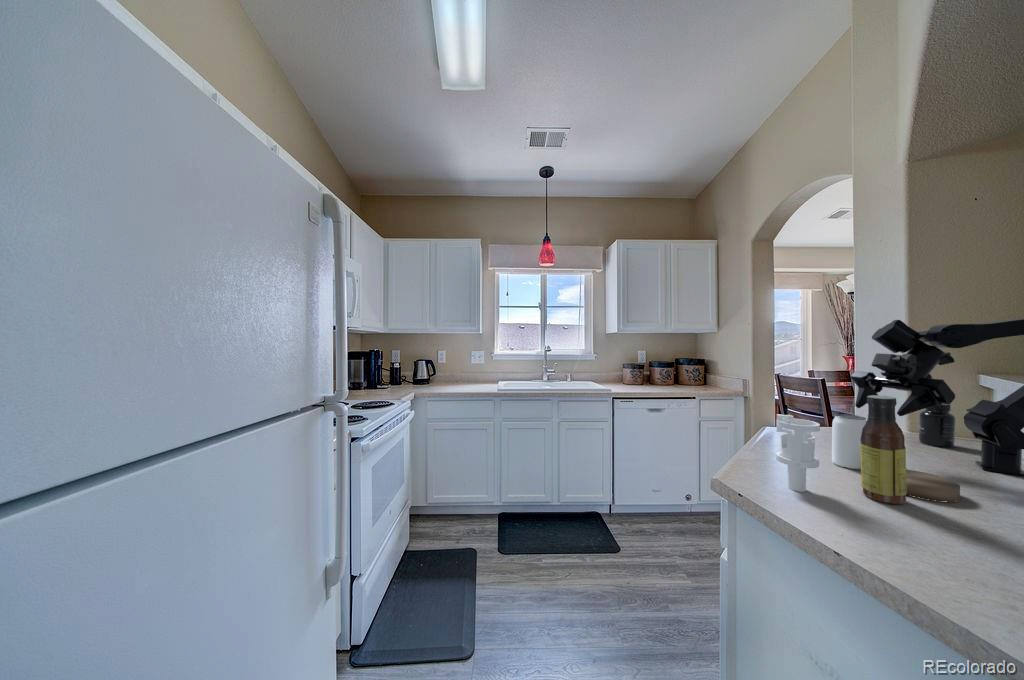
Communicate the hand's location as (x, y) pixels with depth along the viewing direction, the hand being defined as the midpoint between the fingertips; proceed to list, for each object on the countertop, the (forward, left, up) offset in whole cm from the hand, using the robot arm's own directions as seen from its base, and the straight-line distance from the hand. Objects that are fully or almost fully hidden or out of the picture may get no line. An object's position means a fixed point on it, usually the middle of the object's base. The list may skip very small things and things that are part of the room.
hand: (876, 410), depth 91 cm
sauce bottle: (+26, -1, -13) cm, 29 cm away
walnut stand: (+16, +5, -13) cm, 21 cm away
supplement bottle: (-33, +15, -13) cm, 39 cm away
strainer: (+31, -14, -13) cm, 36 cm away
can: (+6, -5, -13) cm, 15 cm away
